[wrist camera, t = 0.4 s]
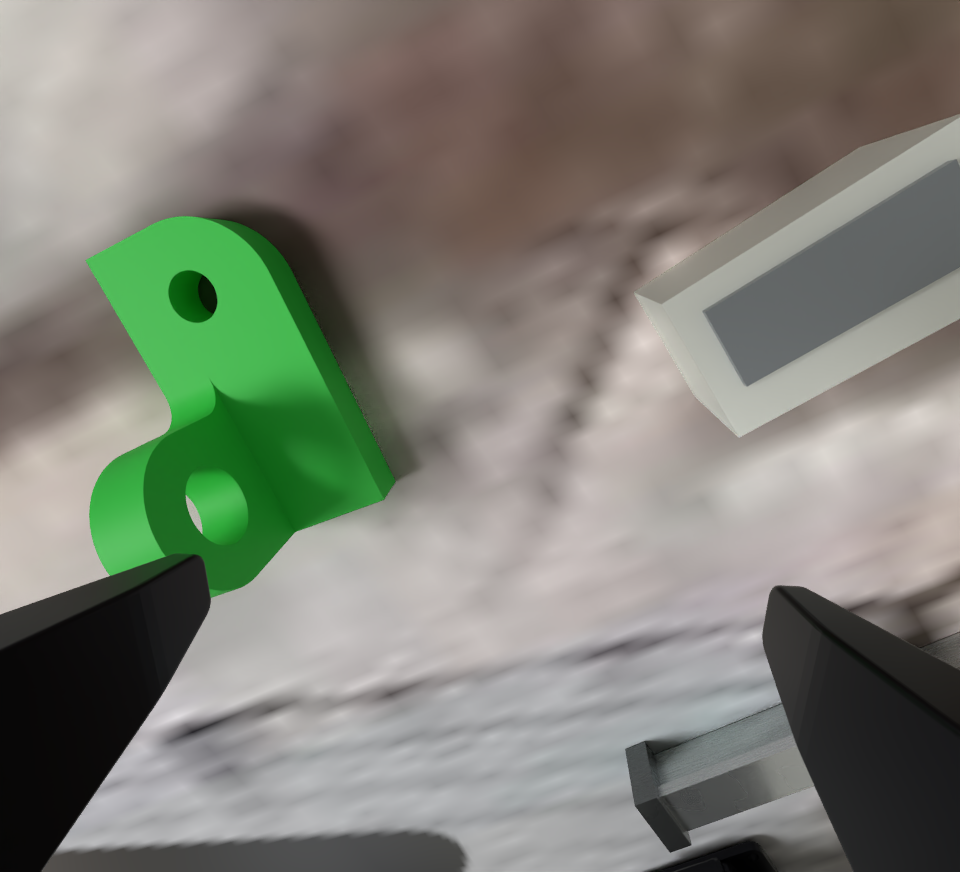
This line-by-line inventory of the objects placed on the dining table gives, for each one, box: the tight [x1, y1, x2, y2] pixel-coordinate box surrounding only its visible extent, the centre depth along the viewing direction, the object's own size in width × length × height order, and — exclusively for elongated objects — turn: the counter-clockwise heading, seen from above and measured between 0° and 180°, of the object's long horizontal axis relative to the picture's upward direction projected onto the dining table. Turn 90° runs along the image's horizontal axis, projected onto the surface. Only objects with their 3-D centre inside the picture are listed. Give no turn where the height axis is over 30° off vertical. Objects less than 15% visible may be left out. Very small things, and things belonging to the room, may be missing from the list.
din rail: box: [625, 633, 960, 853], centre depth 23 cm, size 3×18×3 cm, turn 124°
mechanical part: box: [86, 216, 396, 598], centre depth 19 cm, size 12×6×8 cm, turn 23°
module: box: [634, 114, 960, 438], centre depth 17 cm, size 5×8×5 cm, turn 124°
